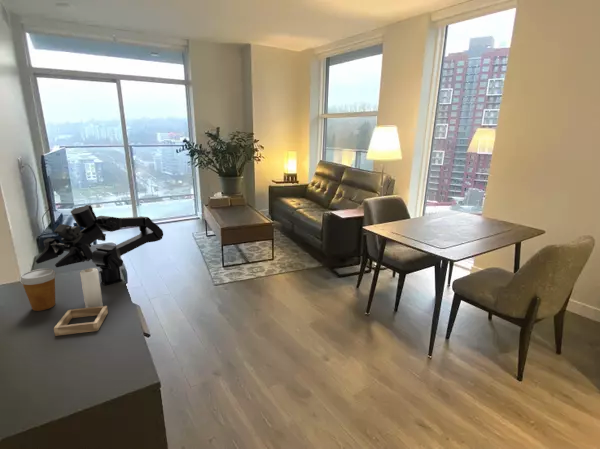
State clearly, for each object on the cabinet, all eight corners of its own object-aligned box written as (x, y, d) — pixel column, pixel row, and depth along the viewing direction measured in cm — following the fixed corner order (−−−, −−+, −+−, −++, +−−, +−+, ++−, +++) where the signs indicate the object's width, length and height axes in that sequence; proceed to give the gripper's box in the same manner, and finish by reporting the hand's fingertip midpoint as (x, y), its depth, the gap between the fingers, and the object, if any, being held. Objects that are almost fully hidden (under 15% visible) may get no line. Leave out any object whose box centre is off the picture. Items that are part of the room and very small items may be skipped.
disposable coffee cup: (67, 300, 117) (62, 268, 114) (45, 314, 108) (38, 279, 105) (42, 299, 118) (36, 267, 115) (18, 312, 108) (10, 278, 105)
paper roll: (100, 301, 116) (95, 266, 113) (104, 306, 113) (99, 270, 110) (83, 306, 113) (78, 270, 109) (87, 311, 109) (82, 274, 106)
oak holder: (69, 316, 106) (68, 309, 105) (108, 312, 109) (107, 305, 108) (55, 335, 96) (53, 328, 95) (97, 330, 99) (96, 323, 98)
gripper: (56, 216, 120) (13, 241, 107) (95, 221, 114) (53, 248, 101) (71, 241, 126) (31, 267, 113) (108, 247, 120) (70, 275, 107)
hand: (45, 264), depth 109 cm, fingers open, 9 cm apart
